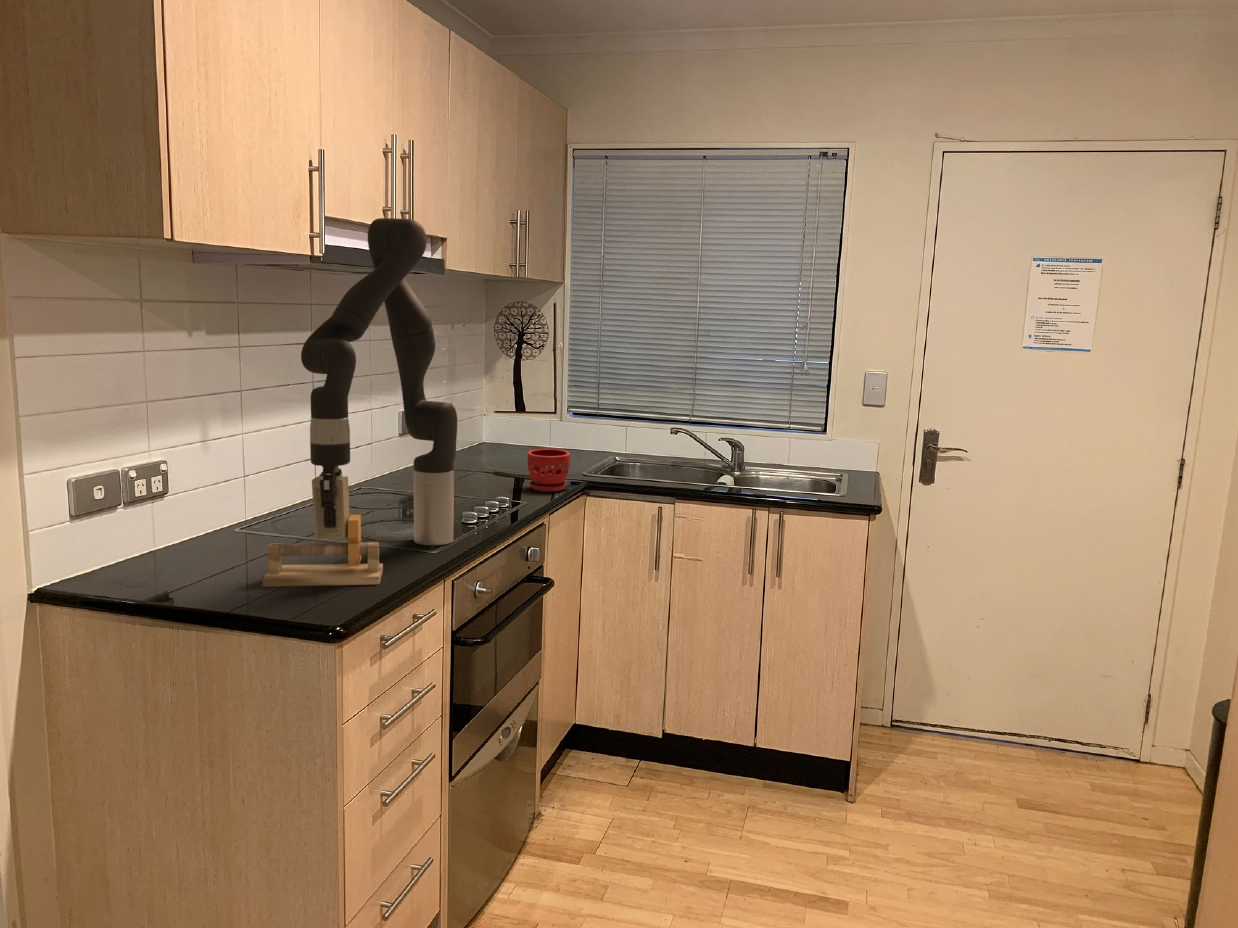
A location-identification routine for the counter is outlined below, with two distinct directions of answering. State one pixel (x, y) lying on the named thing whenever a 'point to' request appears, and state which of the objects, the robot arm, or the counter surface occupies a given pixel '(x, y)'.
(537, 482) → the plant pot
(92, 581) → the counter surface
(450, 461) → the robot arm
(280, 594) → the counter surface
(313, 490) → the skincare box
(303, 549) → the pipe rig
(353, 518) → the orange block
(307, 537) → the counter surface
